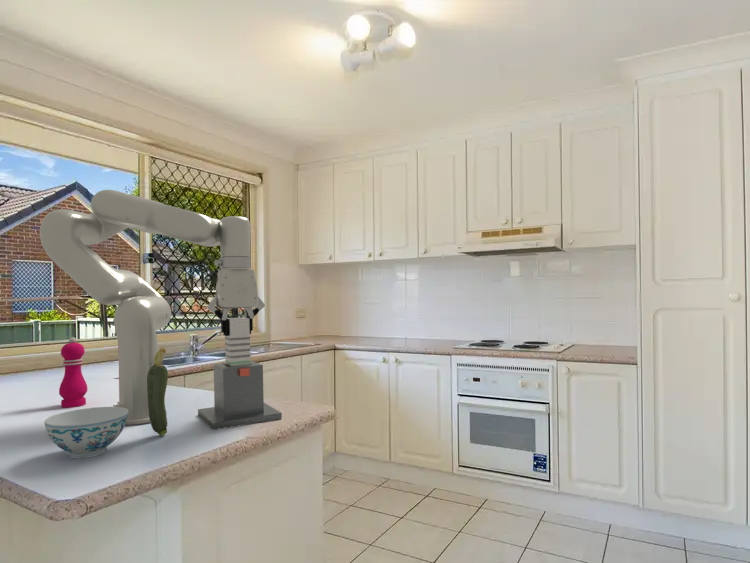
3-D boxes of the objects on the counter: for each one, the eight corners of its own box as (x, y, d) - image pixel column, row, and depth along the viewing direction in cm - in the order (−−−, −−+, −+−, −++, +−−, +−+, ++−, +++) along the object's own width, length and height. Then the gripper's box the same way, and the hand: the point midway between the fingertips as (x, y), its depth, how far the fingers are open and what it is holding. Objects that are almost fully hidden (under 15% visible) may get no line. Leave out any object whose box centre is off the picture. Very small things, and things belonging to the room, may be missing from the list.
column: (231, 391, 127) (229, 319, 127) (225, 388, 132) (224, 318, 132) (251, 389, 130) (249, 318, 130) (245, 386, 134) (243, 317, 134)
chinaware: (133, 455, 102) (133, 416, 102) (44, 471, 94) (44, 429, 94) (124, 437, 114) (123, 403, 114) (45, 450, 106) (44, 413, 106)
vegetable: (148, 439, 112) (146, 349, 113) (147, 434, 116) (145, 347, 117) (170, 436, 114) (168, 347, 115) (168, 431, 118) (166, 346, 119)
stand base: (212, 429, 119) (211, 372, 119) (198, 414, 134) (197, 363, 134) (281, 418, 128) (280, 365, 128) (260, 406, 142) (259, 358, 142)
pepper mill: (74, 408, 145) (73, 338, 145) (53, 407, 146) (52, 338, 146) (93, 402, 152) (92, 336, 152) (72, 402, 153) (71, 336, 154)
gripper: (205, 263, 124) (206, 338, 123) (272, 264, 132) (273, 333, 132) (198, 265, 130) (200, 336, 130) (263, 265, 139) (264, 331, 138)
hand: (237, 334), depth 131 cm, fingers closed on column, 5 cm apart
